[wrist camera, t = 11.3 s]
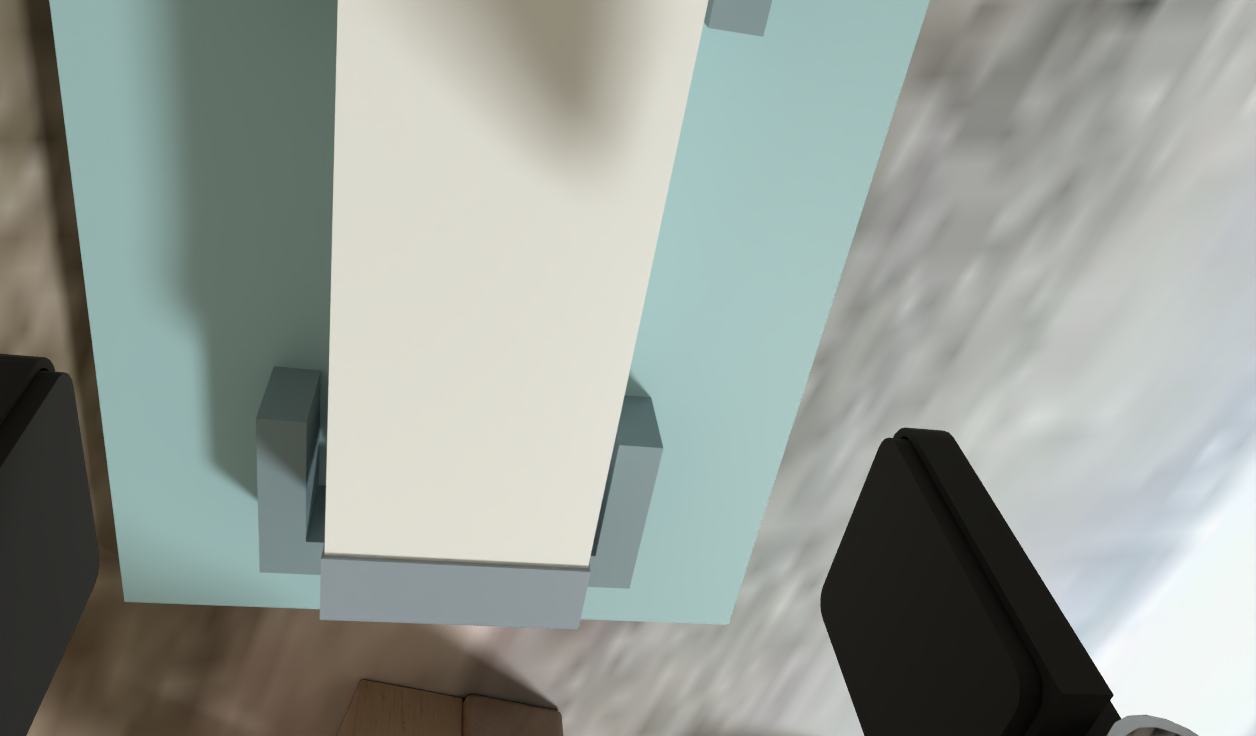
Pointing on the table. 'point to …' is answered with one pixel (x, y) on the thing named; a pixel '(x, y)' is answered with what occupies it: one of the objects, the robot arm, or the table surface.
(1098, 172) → the table surface
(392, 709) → the wooden toy
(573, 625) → the white pillar block
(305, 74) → the cradle
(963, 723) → the robot arm
